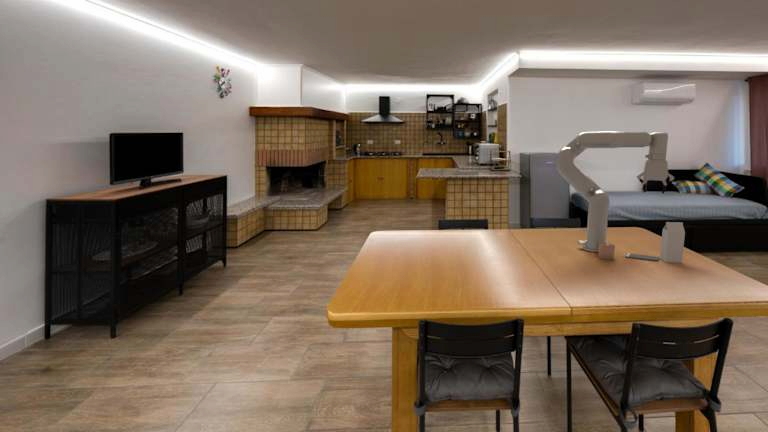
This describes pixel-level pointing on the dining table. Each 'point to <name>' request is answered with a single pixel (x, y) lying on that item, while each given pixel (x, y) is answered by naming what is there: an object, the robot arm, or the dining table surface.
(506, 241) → the dining table surface
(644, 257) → the grey flat bar
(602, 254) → the tan block
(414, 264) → the dining table surface
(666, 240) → the milk carton
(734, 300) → the dining table surface
